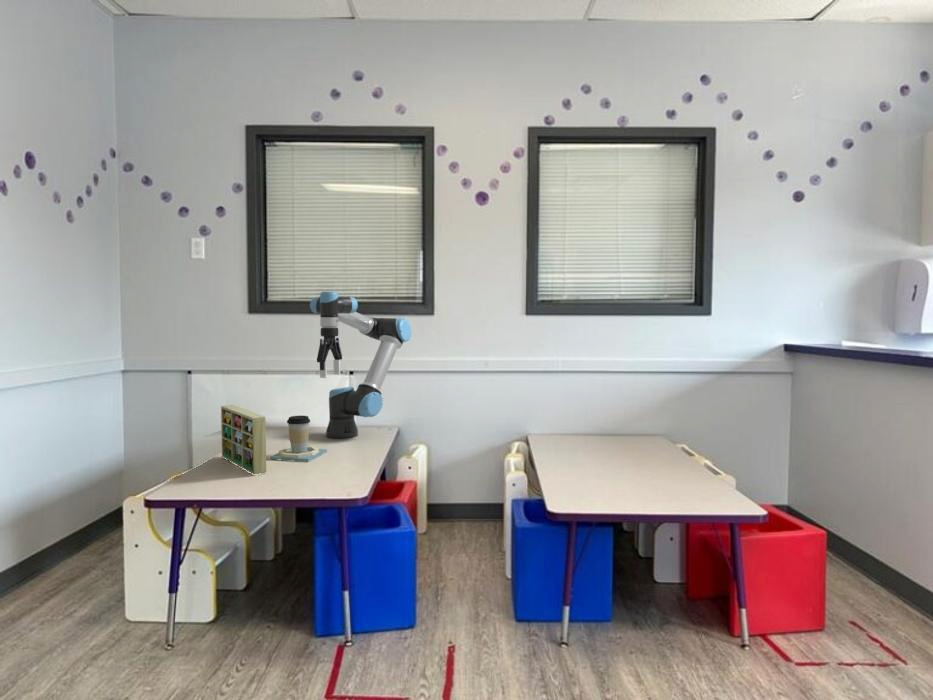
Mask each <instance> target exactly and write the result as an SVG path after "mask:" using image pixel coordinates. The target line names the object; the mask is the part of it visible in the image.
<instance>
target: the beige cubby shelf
mask: <svg viewBox="0 0 933 700" xmlns="http://www.w3.org/2000/svg"><path fill="white" fill-rule="evenodd" d="M220 419H221V427H220V428H221V429H220V430H221V431H220V432H221V458H222V457H224V458H226V459H227V460H229V461H231V462H233V463H235V464H237V465H238V466H240V467H242V468H244V469H246V470H247V471H249V472H251V473H253V474H259V473H265V472H266V473H267V440H266V439H267V438H266V437H267V436H266V435H267V433H266V432H267V431H266V427H267V425H266V416H263V415H261V414H259V413H257V412H256V413H255V412H253V411H250V410H249V409H246V408H242V407H240V406H237V405H234V404H229V405H226V404H225V405H221V406H220ZM227 460H226V461H227Z"/></svg>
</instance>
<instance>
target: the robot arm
mask: <svg viewBox="0 0 933 700" xmlns="http://www.w3.org/2000/svg"><path fill="white" fill-rule="evenodd" d="M358 305H359V304H358V301H357V299H356V298H355V297H353V296H350V295H349V296H339V294H338V292H337V291H322V292H320V294H319V296H316V297H313V298H312V299H311V301H310V303H309V308H310V310H311V312H312V313H313V314H319V315H320V317H319V318H320V321H319V322H320V323H319V324H320V325H319V326H320V337H323V338H320V339H319V348H318V352H317V356H316V363H319V378H320V379H327V373H328V372H327V361H326V360H327V357H328V355H329V351H330V352H331V354H332V356H333V357H332V358H333V360H332V361H333V365H332V367H333V375H341V362H340V361H342V360H343V354H342V350H341V346H340V339H339V337H338V336H339V328H338V327H339V322H340V323H342V324H344V325H346V326H349V327H351V328H354V329H356V330H358V332H359V333H360V334H361V335H364V336H367V337H369V338H370V339H374V340H376V341H380V343H379V346H378V348H377V351H376V353H375V355H374V358H373V359H372V361H371V364H370V367H369V369H368V371H367V373H366V375H365V378H364V381H363V382H362V383H359V384H358V386H357V389H356V390H355V389H354V387H353V386H347V387H340V388H339V387H337V388H332V389H331V390H330V391H329V392H328V393H329V394H328V407H329V420H328V421H329V422H328V424H327V428H326V429H325V437H326V436H327V438H329V437H330V439H348V437H351V438H355V437H358V436H359V429H358V426H357V423H356V421H355V417H361V418H362V417H363V418H373V417H375V416H377V415H378V414H379V413H380V412H381V411H382V408H383V404H384V403H383V401H384V400H383V397H382V391H381V388H382V386H383V383H384V381H385V378H386V376H387V373H388V371H389V370H390V367H391V364H392V363H393V360H394V357H395V355H396V353H397V350H399V349H401V348H402V346H403V343H404V342H405V343H406V342H409V341H410V340H411V337H412V329H411V324H410V322H409V321H408V320H407V319H405V318H404V317H403V318H402V317H396V318H395V317H373V316H371V315H363V314H362V313H359V312H357V310H358V307H359V306H358ZM354 436H355V437H354Z"/></svg>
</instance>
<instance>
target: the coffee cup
mask: <svg viewBox="0 0 933 700" xmlns="http://www.w3.org/2000/svg"><path fill="white" fill-rule="evenodd" d="M310 422H311V419H310V418H309V416H308V415H292V416H289V417H288V419H287V421H286V424H288V436H289V442H290V447H291V449H292V454H300V453H307V446H308V444H309V443H308V442H309V434H310Z"/></svg>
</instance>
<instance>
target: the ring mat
mask: <svg viewBox="0 0 933 700" xmlns="http://www.w3.org/2000/svg"><path fill="white" fill-rule="evenodd" d="M325 452H326V453H327V452H328V449H327V448H319V447H316V446H311V445H307V453H300V454H292V449H291V446H289V447H285V448H283V449H280V450H278V452H277V453H275V454H273V455H270V456H269V460H270V459H281V460H294V461H293V462H299V461H306V462H305V463H309V462H311V461H313V460H315V459H317V458H319V457H321V456H322V454H323V453H324V454H326V453H325ZM324 454H323V455H324ZM320 455H321V456H320ZM318 456H319V457H318ZM316 457H317V458H316ZM281 460H280V461H281Z"/></svg>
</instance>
